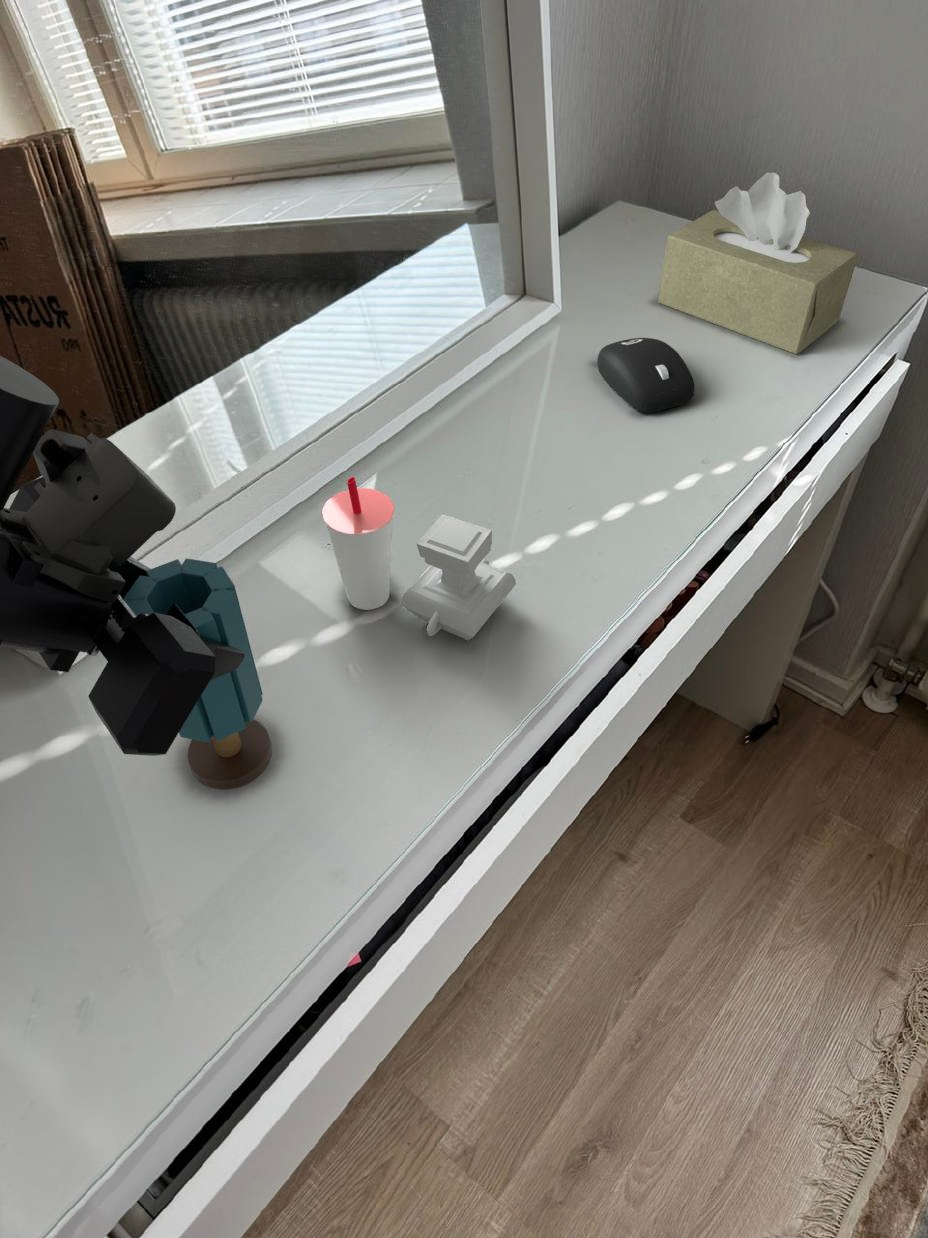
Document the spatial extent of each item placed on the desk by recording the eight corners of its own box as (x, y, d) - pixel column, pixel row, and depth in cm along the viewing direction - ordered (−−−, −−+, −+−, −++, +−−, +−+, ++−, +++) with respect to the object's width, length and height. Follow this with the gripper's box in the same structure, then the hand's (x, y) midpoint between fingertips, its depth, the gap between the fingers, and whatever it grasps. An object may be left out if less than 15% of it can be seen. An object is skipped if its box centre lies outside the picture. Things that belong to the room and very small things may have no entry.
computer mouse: (639, 348, 101) (644, 314, 98) (701, 402, 94) (709, 368, 91) (580, 363, 99) (583, 329, 96) (638, 420, 92) (644, 385, 89)
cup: (330, 617, 73) (310, 498, 64) (341, 571, 77) (324, 453, 68) (397, 620, 73) (386, 501, 64) (404, 574, 76) (395, 455, 68)
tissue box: (654, 302, 109) (675, 161, 97) (698, 273, 114) (723, 136, 102) (799, 356, 100) (841, 209, 88) (840, 323, 105) (885, 179, 93)
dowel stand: (207, 803, 61) (187, 750, 57) (179, 745, 65) (157, 691, 60) (285, 766, 63) (270, 712, 59) (253, 711, 67) (237, 657, 62)
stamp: (466, 669, 69) (465, 589, 63) (393, 636, 72) (385, 556, 65) (522, 596, 74) (526, 516, 68) (452, 568, 77) (450, 488, 71)
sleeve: (186, 756, 57) (144, 647, 50) (154, 692, 60) (111, 583, 53) (275, 715, 59) (248, 605, 52) (240, 656, 63) (209, 546, 56)
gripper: (122, 536, 37) (371, 606, 49) (-35, 351, 47) (206, 448, 59) (-1, 755, 39) (268, 768, 52) (-125, 533, 49) (126, 590, 62)
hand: (214, 630), depth 56 cm, fingers closed on sleeve, 6 cm apart
